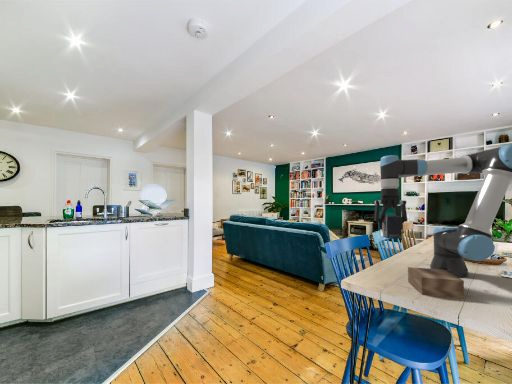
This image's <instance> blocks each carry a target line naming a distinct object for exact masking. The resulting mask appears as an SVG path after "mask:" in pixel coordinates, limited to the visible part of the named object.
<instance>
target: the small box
mask: <svg viewBox="0 0 512 384" xmlns="http://www.w3.org/2000/svg"><path fill="white" fill-rule="evenodd" d="M401 217H402V215H401V216H396V215H395V214H385V216H384V219H383V222H382V223H384V231H385V237H384V238H385V239H386V240H387V239H388V240H389V239H391V240H393V239H394V240H402V239H403V238H402V237H403V236H402V234H403V233H402V230H401ZM379 230H380V231H379V232H380V234H379V235H380V236H381V229H379Z"/></svg>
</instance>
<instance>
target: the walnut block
mask: <svg viewBox="0 0 512 384" xmlns="http://www.w3.org/2000/svg"><path fill="white" fill-rule="evenodd" d="M407 280H408V281H407V283H408V284H409V285H411V286H412V287H413V288H414V289H415V290H416V291H417V292H418V293H419V294H421V295H422V296H424V295H425V296H434V297H444V298H455V299H456V298H457V299H465V283H464V282H465V280H463V279H462V278H461V277H456V276H455V275H453V274H451V273H449V272H447V271H446V270H442V269H430V268H425V267H411V266H408V267H407Z"/></svg>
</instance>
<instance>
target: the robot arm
mask: <svg viewBox="0 0 512 384" xmlns="http://www.w3.org/2000/svg"><path fill="white" fill-rule="evenodd" d="M379 161H380V164H379V167H380V169H379V170H380V188H381V189H380V199H379V200H374V201H373V203H374V217H373V221H375V222H377V224H378V225H377V227H378V230H380V229H381V235H380V237H383V238H385V231H384V223H382V222H383V219H384V216H385V215H387V214H386V213H387V210H388V209H389V208H392V210H393V211H394V215H396V216H401V231H403V229H404V223H406V222H408V216H407V207H406V205H407V200H403V199H400V189H399V187H400V180H399V179H400V178H401V179H402V178H410V177H420V176H434V175H444V174H453V173H456V174H457V173H461V174H463V175H465V174H466V175H467V174H483V175H484V177H483V179H482V180H481V181H482V182H481V184H480V187H479V189H478V192H477V193H476V195H475V198H474V201H473V203H472V205H471V207H470V209H469V212H468V214H467V216H466V218H465V221H464V223H462V224H459V225H458V226H457V227H451V226H450V227H448V226H447V227H445V226H444V227H443V226H442V227H441V226H439V227H435V228H433V258H432V259H431V262H430V264H429V269H442V270H446V271H447V272H449V273H451V274H453V275H455V276H456V277H458V278H466V277H469V269H468V267H467V264H466V262H465V260H471V261H475V262H476V261H477V262H479V261H482V262H483V261H485V260H487V259H490V257H492V255H493V254H494V252H495V250H496V249H495V248H496V247H495V244H494V241H493V240H492V238H493V234H492V232H491V231H490V230H491V228H492V225H493V223H494V220H495V218H496V216H497V214H498V212H499V209H500V207H501V204H502V202H503V200H504V198H505V195H506V194H507V192H508V191H507V190H508V188H509V187H510V184H511V181H512V144H504V145H501V146H498V147H494V148H489V149H485V150H482V151H478V152H475V153H470V154H463V155H461V156H459V157H453V158H442V159H432V160H425V159H418V158H416V159H400V158H399V156H398V155H397V154H395V155H394V154H393V155H392V154H391V155H384V156H382V157H381V158H380V160H379ZM381 204H382V207H380V205H381ZM398 205H400V209H399V206H398ZM380 208H381V209H380ZM380 210H381V211H380Z"/></svg>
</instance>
